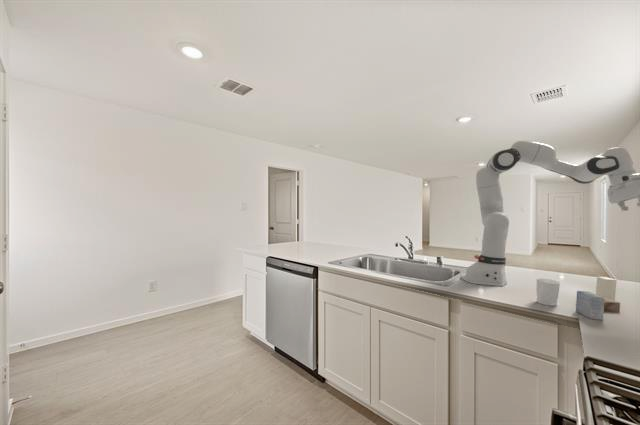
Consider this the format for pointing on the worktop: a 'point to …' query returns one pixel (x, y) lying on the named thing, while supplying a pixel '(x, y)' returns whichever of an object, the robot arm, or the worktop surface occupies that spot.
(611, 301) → the walnut block
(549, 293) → the white cup
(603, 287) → the cream pillar
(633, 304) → the worktop surface
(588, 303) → the medicine box
